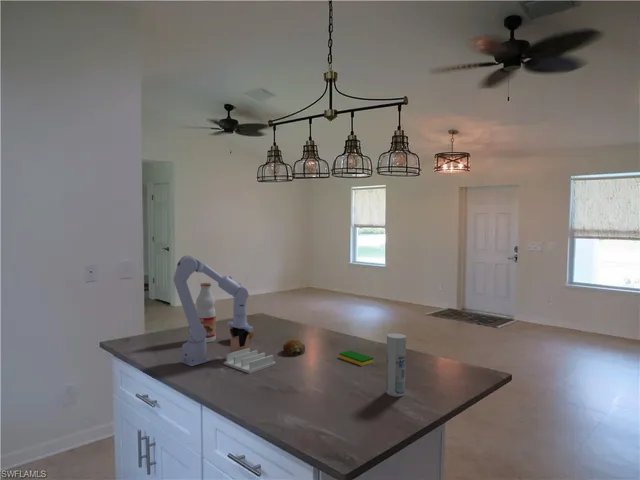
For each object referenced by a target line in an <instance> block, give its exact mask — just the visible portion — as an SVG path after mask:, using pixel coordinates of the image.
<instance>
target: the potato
mask: <svg viewBox="0 0 640 480" xmlns="http://www.w3.org/2000/svg"><path fill="white" fill-rule="evenodd" d="M232 328H233V327H231V326H230V327H229V335H230V336H231V338H232V337H233V335H232V333H231V331H230V329H232ZM254 334H255V332H254V330H253V331H252V332H249V334H248V335H249V341H250V340H252V338H253V337H254Z"/></svg>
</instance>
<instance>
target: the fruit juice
mask: <svg viewBox="0 0 640 480" xmlns="http://www.w3.org/2000/svg"><path fill="white" fill-rule="evenodd" d="M211 287H212V283H211V282H201V283H200V290H199V294H198V296H197V298H196V300H195V303H196V311H197V314H198V317H199V320H200V322H201V324H202V325H203V327H204V328H205V329H206V332H207V335H206V344H207V343H212V342H214V341H216V337H217V336H216V335H217V334H216V333H217V330H216V329H217V328H216V327H217V324H216V323H217V317H216V316H217V313H216V309H215V305H216V298H215V297H214V294H213V292H212V289H211Z"/></svg>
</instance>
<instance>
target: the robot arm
mask: <svg viewBox="0 0 640 480" xmlns="http://www.w3.org/2000/svg"><path fill="white" fill-rule="evenodd" d="M195 272H196V273H203V274H204V275H206V276H208V277H209V278H211V279H212V280H214V281H215V282H217V284H218V285H217V286H218V288H220V289H221V290H222V291H224V292H226V293H227V294H229V295H231V296H232V297H233V303H232V305H233V306H232V308H233V314H232V315H233V316H232V317H233V319H232V321H231V320H230V321H227V327H228V328H229V332H230V331H231V333H232V335H233V337H236V336H239V344H240V347H242V346H244V345H245V342H246V338H247V336H248V334H249V332H252V331H254V327H253V326H251V325H250V324H249V323H248V315H247V314H248V298H249V296H250V295H249V291H248V290H247V288H245V287H244V286H242V284H241V283H240V282H236V281H235V280H234V279H233V277H232V276H231V275H229V276H228V275H223V276H222V275H221V274H219V272H217V271H216V270H214V269H213V268H212V267H210V266H209V265H207V263H204V262H202V261H201V260H199V259H197V258H194V257H193V256H191V255H184V256H182V257H181V258H180V260H179V261H178V262H177V264H176V267H175V272H174V276H173V283H174V285H175V289H176V292H177V294H178V298H179V300H180V302H181V306H182V309H183V311H184V312H183V313H184V314H185V318H186V319H187V324H188V330H187V331H188V334H189V335H190V336H189V338H188V341H187V342H184V343H182V346H181V360H180V363H182V364H185V365H187V366H190V367H195V366H198V365H200V364H204V363H207V362H211V361H212V360H211V359H210V358H207V343H206V335H207V332H206V329H205V328H204V327H203V325H202V324H201V322H200V320H199V317H198V314H197V311H196V310H197V307H196V306H195V302H194V300H193V297H192V295H191V291H190V288H189V286H188V279H189V278H190V276H192V274H193V273H195ZM230 327H233V328H232V329H230Z"/></svg>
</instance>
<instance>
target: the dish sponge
mask: <svg viewBox="0 0 640 480" xmlns="http://www.w3.org/2000/svg"><path fill="white" fill-rule="evenodd" d="M338 355H339V359H341V360H344V361H347V362H349V363H353V364H356V365H359V366H361V367H364V366H366V365H370V364H373V363H374V357H372V356H370V355H369V356H368V355H366V354H363V353H360V352H357V351H354V350H352V349H351V350H346V351H343V352H339V354H338Z"/></svg>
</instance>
